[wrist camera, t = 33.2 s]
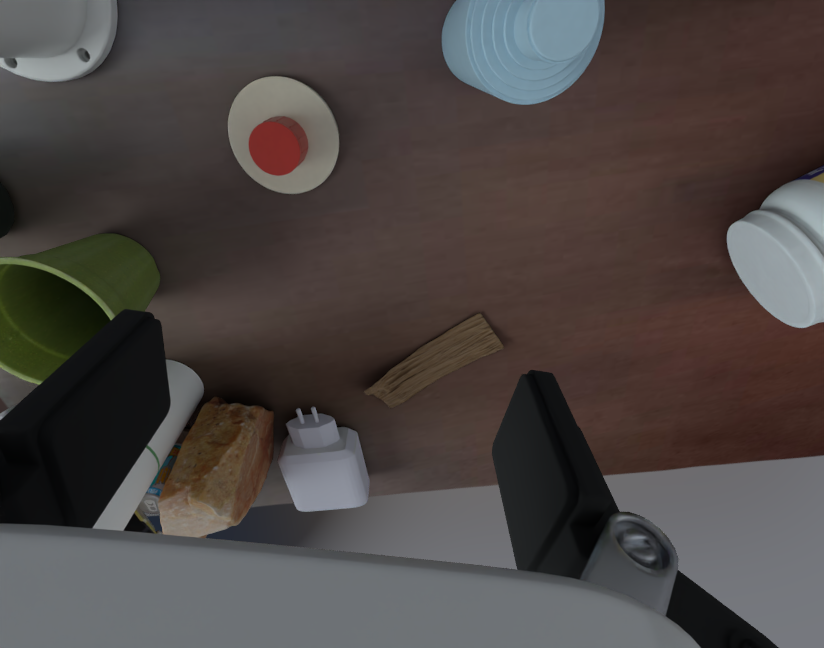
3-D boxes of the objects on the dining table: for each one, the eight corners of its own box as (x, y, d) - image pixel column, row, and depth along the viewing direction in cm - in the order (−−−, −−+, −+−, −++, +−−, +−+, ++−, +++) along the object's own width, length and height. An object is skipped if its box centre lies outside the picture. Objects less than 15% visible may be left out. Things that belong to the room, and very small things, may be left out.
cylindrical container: (128, 360, 48) (-92, 603, 27) (193, 358, 48) (24, 599, 27) (151, 409, 52) (-26, 656, 30) (211, 406, 52) (76, 653, 30)
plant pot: (63, 304, 44) (-32, 373, 35) (50, 191, 38) (-69, 236, 29) (184, 332, 46) (127, 405, 37) (190, 229, 40) (123, 283, 31)
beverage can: (220, 425, 53) (193, 479, 46) (244, 489, 59) (224, 545, 53) (122, 429, 53) (81, 484, 46) (157, 493, 59) (125, 549, 53)
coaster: (206, 122, 36) (203, 123, 35) (289, 49, 33) (287, 49, 33) (282, 211, 40) (281, 213, 39) (361, 152, 37) (360, 154, 37)
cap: (283, 176, 37) (273, 185, 35) (250, 135, 36) (237, 142, 33) (318, 148, 36) (310, 156, 33) (285, 105, 35) (275, 110, 32)
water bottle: (425, 24, 32) (447, -8, 16) (501, -38, 31) (617, -147, 14) (468, 104, 35) (526, 147, 19) (540, 51, 33) (675, 48, 17)
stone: (267, 476, 57) (220, 587, 43) (198, 454, 55) (127, 562, 42) (300, 391, 51) (259, 489, 38) (224, 364, 50) (153, 455, 36)
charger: (348, 389, 51) (370, 475, 58) (270, 397, 51) (302, 481, 59) (343, 418, 47) (367, 506, 54) (259, 426, 47) (294, 513, 55)
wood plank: (481, 318, 44) (506, 352, 46) (478, 309, 46) (502, 342, 48) (362, 390, 48) (389, 418, 50) (363, 379, 50) (390, 407, 52)
